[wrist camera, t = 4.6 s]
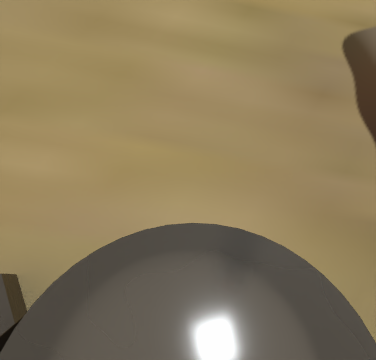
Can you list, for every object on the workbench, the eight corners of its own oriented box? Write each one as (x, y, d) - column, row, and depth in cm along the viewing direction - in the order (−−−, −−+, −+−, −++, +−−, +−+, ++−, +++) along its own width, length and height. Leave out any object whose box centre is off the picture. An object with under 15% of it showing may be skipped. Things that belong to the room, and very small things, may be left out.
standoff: (230, 344, 14) (498, 568, 3) (139, 392, 14) (41, 956, 2) (191, 252, 16) (281, 170, 4) (103, 291, 15) (-83, 322, 3)
